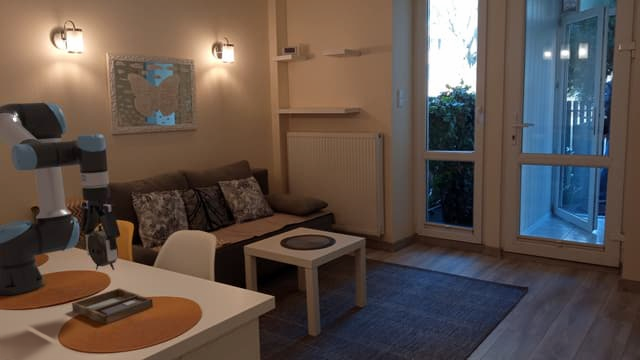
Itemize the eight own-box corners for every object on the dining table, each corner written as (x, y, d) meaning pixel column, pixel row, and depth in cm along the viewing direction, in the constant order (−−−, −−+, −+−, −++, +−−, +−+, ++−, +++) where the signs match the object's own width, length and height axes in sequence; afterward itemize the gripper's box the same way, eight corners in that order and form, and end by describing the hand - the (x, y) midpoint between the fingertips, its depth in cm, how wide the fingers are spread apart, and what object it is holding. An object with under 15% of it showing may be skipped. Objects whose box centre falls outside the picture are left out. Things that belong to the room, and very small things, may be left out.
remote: (101, 317, 151) (101, 309, 151) (135, 305, 160) (134, 298, 159) (109, 320, 149) (108, 312, 148) (142, 308, 157) (142, 301, 157)
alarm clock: (120, 269, 156) (116, 216, 154) (103, 274, 152) (98, 220, 150) (103, 263, 164) (98, 213, 161) (86, 267, 160) (81, 216, 157)
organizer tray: (73, 313, 157) (71, 303, 157) (120, 297, 169) (119, 288, 169) (105, 327, 146) (104, 316, 146) (152, 309, 158) (152, 299, 158)
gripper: (64, 185, 159) (71, 254, 162) (104, 190, 144) (111, 266, 147) (87, 182, 165) (94, 249, 168) (128, 186, 150) (135, 259, 153)
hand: (102, 257), depth 157 cm, fingers closed on alarm clock, 11 cm apart
